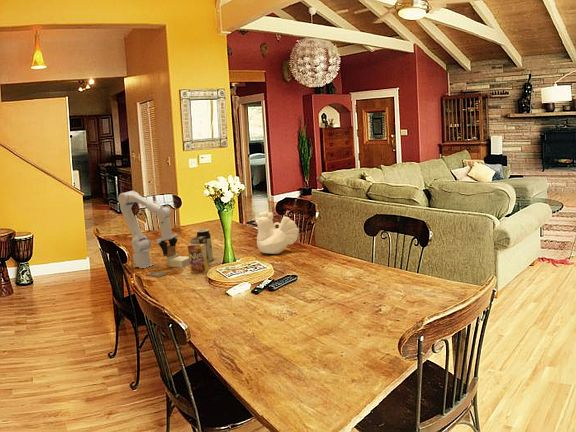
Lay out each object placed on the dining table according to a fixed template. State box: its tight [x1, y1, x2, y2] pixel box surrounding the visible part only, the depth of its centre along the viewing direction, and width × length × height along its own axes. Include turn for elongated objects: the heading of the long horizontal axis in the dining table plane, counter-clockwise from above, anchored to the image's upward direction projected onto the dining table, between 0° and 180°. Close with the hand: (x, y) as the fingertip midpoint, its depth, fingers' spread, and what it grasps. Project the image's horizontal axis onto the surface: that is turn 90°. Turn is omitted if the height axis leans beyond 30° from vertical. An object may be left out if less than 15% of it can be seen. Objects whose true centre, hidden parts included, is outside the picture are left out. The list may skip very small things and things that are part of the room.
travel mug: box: [195, 228, 214, 262], centre depth 313 cm, size 8×8×18 cm
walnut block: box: [162, 245, 177, 258], centre depth 304 cm, size 5×5×5 cm
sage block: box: [166, 252, 179, 265], centre depth 316 cm, size 5×5×5 cm
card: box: [145, 271, 169, 278], centre depth 292 cm, size 10×7×1 cm
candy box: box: [187, 243, 209, 274], centre depth 289 cm, size 9×4×15 cm, turn 73°
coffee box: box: [190, 236, 210, 265], centre depth 301 cm, size 9×6×16 cm
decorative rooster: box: [254, 210, 300, 255], centre depth 314 cm, size 25×16×25 cm, turn 67°
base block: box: [169, 255, 190, 268], centre depth 309 cm, size 9×9×4 cm
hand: (169, 252), depth 304 cm, fingers closed on walnut block, 5 cm apart
